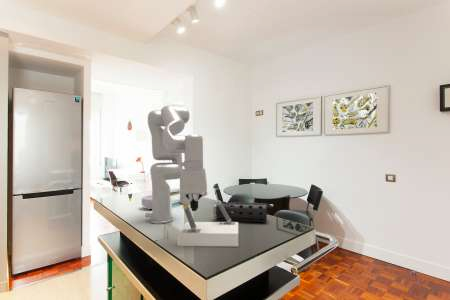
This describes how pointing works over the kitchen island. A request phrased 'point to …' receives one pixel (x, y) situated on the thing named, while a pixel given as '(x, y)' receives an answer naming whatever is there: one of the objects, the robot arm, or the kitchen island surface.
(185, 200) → the cylinder vase
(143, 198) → the paper bowls
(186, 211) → the lever
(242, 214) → the muzzle brake
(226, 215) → the lever
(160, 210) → the robot arm
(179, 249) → the kitchen island surface
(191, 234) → the panel
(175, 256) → the kitchen island surface
